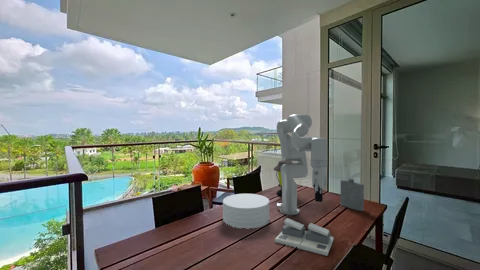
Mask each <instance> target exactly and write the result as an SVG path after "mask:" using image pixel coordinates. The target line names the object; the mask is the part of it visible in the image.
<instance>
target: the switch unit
mask: <svg viewBox="0 0 480 270" xmlns="http://www.w3.org/2000/svg"><path fill="white" fill-rule="evenodd" d="M307 229H308V228H307ZM334 238H335V237H334V236H331V232H329V233H328V235H327V236H325V235H322V234H320V233H318V232H315V231H313V230H311V229H308V230H306V227H305V226H304V227H303V229H302V230H299V229H296V228H294V227H292V226H289V225H287V224H285V223H284V225H283V226H282V227H281V232H279V234H278V235H277V236H276V237H275V238H274V243H277V244H282V245H284V244H285V246H288V245H289V246H288V247H292V246H293V248H296V247H297V248H296V249H300V250H304V251H308V252H311V253H315V254H319V255H323V256H326V257H327V256H329V252H330V250H331V247H332V245H333V243H334Z"/></svg>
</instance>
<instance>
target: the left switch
mask: <svg viewBox="0 0 480 270" xmlns="http://www.w3.org/2000/svg"><path fill="white" fill-rule="evenodd" d="M283 224H284V225H285V224H287V225H289V226H292V227H294V228H296V229H299V230H302V229H303V227H305V224H303V223H301V222H299V221H295V220H293V219H291V218H288V217H287V218H285V220H284V221H283Z"/></svg>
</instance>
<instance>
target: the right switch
mask: <svg viewBox="0 0 480 270" xmlns="http://www.w3.org/2000/svg"><path fill="white" fill-rule="evenodd" d="M307 229H311V230H313V231H315V232H318V233H320V234H322V235H325V236H327V235H328V233H330V229H327V228H325V227H323V226H322V227H321V225H317V224H315V223H312V222H310V223H309V224H308V225H307Z"/></svg>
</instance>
